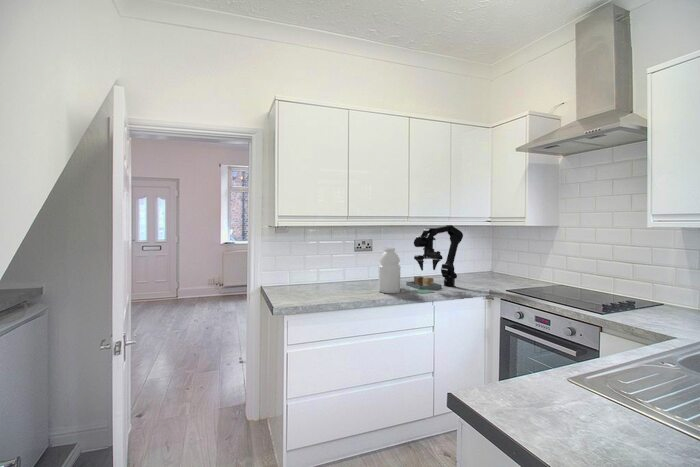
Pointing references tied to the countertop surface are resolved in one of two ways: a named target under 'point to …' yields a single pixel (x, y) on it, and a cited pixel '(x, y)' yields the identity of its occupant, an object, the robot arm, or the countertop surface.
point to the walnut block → (418, 280)
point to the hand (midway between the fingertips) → (428, 270)
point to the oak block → (428, 281)
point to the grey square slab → (434, 286)
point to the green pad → (423, 291)
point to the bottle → (389, 272)
